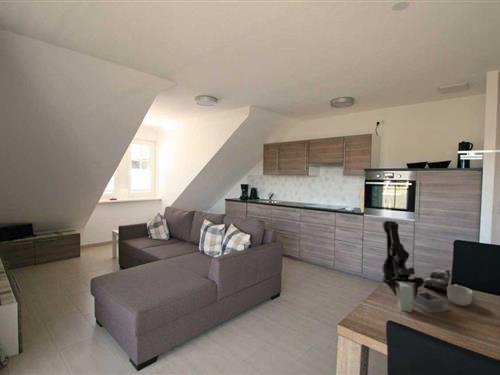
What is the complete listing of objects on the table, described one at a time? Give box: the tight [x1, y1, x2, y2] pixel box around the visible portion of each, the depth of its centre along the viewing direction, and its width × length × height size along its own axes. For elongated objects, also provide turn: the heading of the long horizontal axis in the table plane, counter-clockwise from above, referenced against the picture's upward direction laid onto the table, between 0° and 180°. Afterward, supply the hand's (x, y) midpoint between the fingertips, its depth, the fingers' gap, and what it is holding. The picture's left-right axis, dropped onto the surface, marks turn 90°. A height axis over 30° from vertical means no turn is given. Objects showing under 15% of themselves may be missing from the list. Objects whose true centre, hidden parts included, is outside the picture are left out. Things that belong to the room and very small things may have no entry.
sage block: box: [397, 282, 414, 313], centre depth 136 cm, size 5×5×13 cm
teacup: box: [446, 283, 473, 307], centre depth 144 cm, size 14×11×8 cm
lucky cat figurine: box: [422, 268, 452, 293], centre depth 160 cm, size 15×12×14 cm
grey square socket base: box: [412, 291, 452, 315], centre depth 140 cm, size 14×14×5 cm
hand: (405, 296), depth 135 cm, fingers open, 9 cm apart
